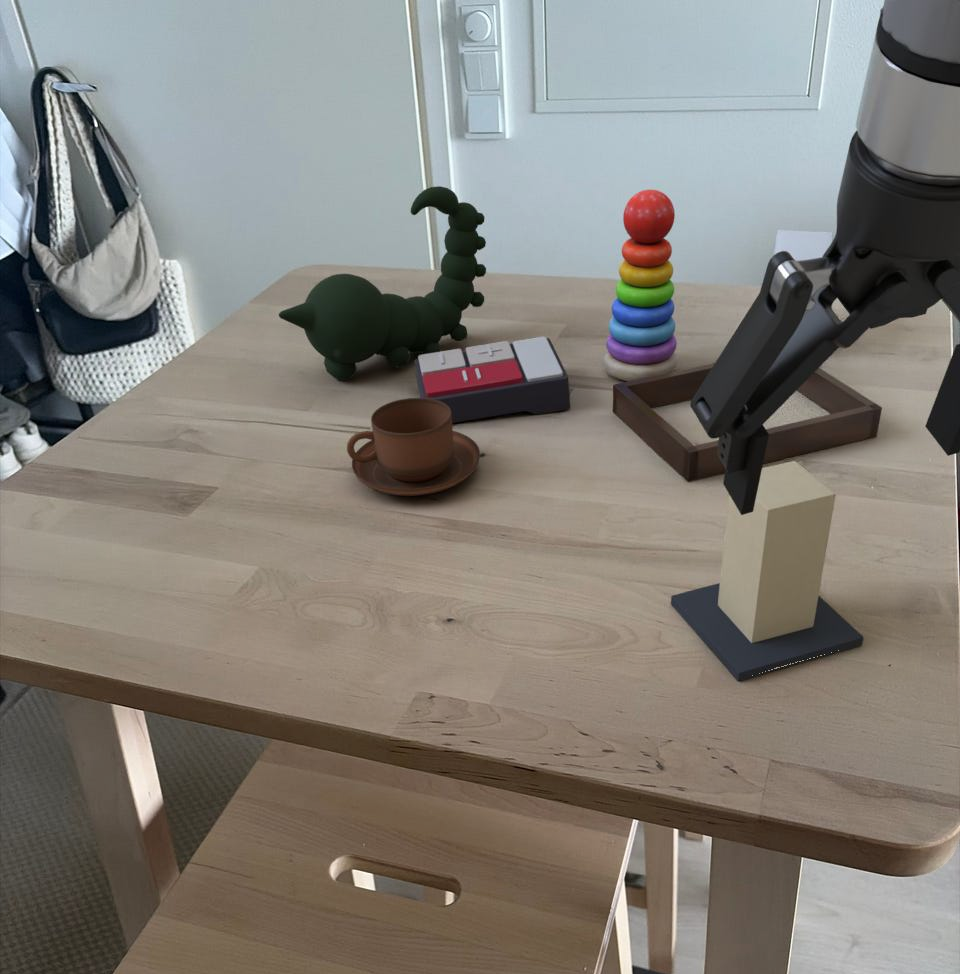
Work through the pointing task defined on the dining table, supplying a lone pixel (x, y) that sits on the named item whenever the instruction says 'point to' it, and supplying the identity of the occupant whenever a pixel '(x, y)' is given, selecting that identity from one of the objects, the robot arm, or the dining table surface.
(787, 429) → the wooden frame
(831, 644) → the mat
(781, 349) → the robot arm
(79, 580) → the dining table surface
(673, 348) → the stacking toy
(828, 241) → the cosmetics box
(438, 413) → the cup and saucer
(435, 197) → the toy figurine
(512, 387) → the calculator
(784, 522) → the block
